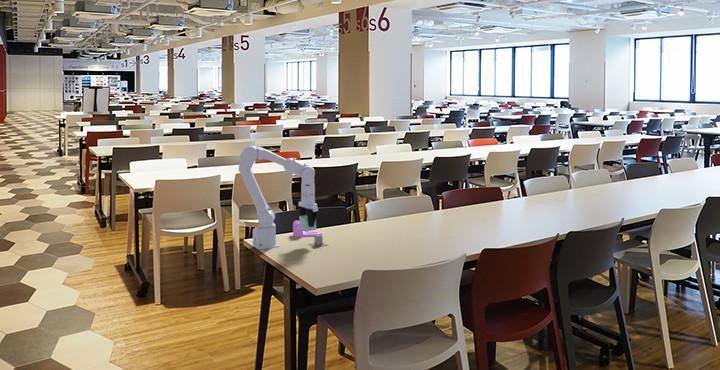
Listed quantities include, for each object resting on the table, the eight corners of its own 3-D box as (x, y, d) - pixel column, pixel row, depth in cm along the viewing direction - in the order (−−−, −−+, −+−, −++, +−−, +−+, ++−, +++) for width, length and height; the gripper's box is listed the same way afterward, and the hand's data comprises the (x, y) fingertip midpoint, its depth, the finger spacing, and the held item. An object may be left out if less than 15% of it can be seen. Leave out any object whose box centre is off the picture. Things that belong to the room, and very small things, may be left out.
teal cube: (305, 231, 268) (304, 218, 266) (300, 229, 272) (299, 216, 271) (316, 229, 270) (315, 215, 269) (311, 227, 275) (309, 213, 273)
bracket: (294, 238, 287) (294, 223, 286) (293, 235, 292) (292, 220, 291) (323, 236, 290) (322, 221, 289) (320, 233, 296) (320, 219, 294)
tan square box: (315, 248, 269) (315, 238, 268) (308, 244, 274) (308, 235, 273) (328, 246, 272) (328, 236, 271) (321, 243, 277) (321, 233, 277)
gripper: (324, 195, 265) (324, 227, 267) (308, 191, 277) (309, 221, 279) (309, 197, 261) (309, 229, 263) (294, 192, 273) (294, 223, 275)
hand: (308, 225), depth 271 cm, fingers closed on teal cube, 5 cm apart
